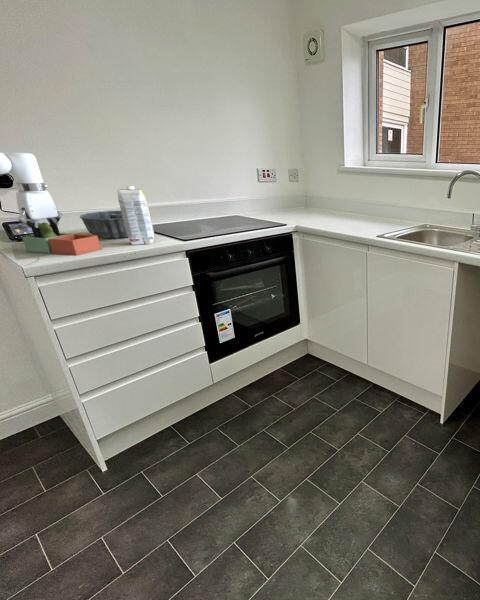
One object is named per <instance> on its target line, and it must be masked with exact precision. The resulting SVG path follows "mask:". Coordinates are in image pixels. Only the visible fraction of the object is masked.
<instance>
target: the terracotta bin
mask: <svg viewBox="0 0 480 600" xmlns="http://www.w3.org/2000/svg"><path fill="white" fill-rule="evenodd" d="M49 242H50V245H51V248H52V251H53V253H52V254H55V255H56V254H57V255H70V256H78V255H83V254H87V253H91V252H96V251H99V250H102V247H101V243H100V240H99V237H98V236H97V235H92V234H82V233H81V234H79V233H72V235H67V236H62V237H56V238H51V239H49Z"/></svg>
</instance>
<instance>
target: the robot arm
mask: <svg viewBox="0 0 480 600" xmlns="http://www.w3.org/2000/svg"><path fill="white" fill-rule="evenodd" d="M8 173H11V174H12V177H13V180H14V183H15V186H16V189H17V192H16V193H15V198H16V199H15V200H16V204H17V209H18V212H19V216H18V218H17V220H18V221H19V222H21V223H22V224H24V225H26V226H27V227H28V228H31V231H32V234H33V235H34V236H35V237H36V238H43V237H44V236H43V233H42V230H41V228H40V227H38V223H39V221H40V220H45V219H46V221H47V223H48V225H50V226H51V227H52V229H53V232H54V233H55V234H56V235H60V233H61V232H60V230H59V227H58V225H59V222H60V221H61V218H62V217H63V213H62V212H61V211H59V210H58V209H57V206H56V204H55V202H54V199H53V197H52V195H51V194H50V192H49V191H48V190H47V188H48V184H46V183H44V179H43V176H42V173H41V170H40V167H39V163H38V160H37V158H36V156H35V155H34V154H33V153H30V152H17V151H16V152H13V151H12V152H11V151H10V152H1V151H0V175H5V174H8Z"/></svg>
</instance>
